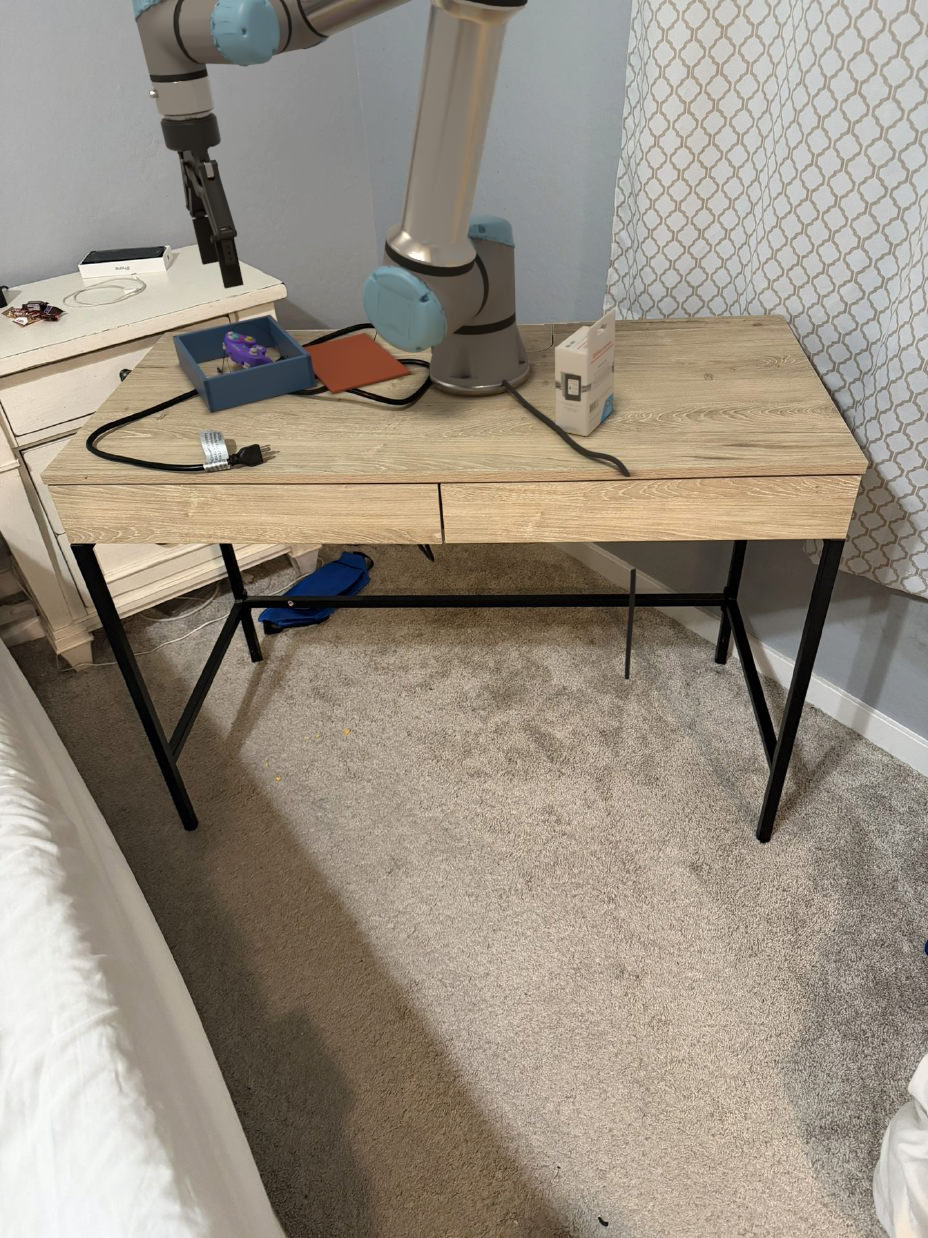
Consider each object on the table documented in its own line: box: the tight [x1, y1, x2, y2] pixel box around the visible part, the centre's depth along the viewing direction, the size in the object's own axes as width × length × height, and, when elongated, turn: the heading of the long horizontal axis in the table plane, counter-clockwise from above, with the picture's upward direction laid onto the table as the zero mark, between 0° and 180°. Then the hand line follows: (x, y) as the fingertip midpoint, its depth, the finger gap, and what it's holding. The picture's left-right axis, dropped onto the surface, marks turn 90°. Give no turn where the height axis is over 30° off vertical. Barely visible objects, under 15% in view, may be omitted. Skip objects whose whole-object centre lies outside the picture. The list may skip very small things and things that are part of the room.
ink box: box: [554, 308, 617, 437], centre depth 122 cm, size 9×5×15 cm, turn 148°
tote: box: [171, 314, 317, 413], centre depth 146 cm, size 22×17×5 cm
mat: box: [303, 332, 412, 395], centre depth 148 cm, size 20×13×1 cm, turn 26°
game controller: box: [216, 323, 282, 374], centre depth 146 cm, size 10×8×10 cm
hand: (222, 274), depth 137 cm, fingers open, 13 cm apart
